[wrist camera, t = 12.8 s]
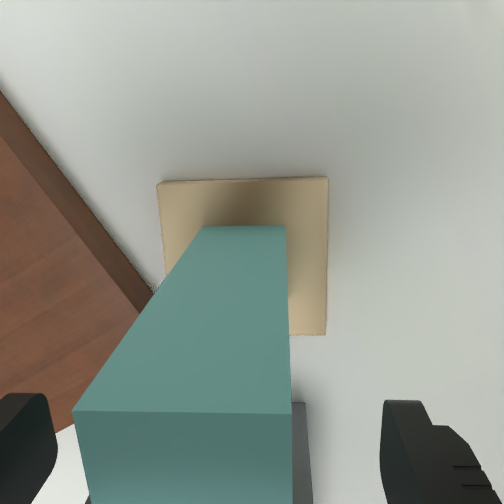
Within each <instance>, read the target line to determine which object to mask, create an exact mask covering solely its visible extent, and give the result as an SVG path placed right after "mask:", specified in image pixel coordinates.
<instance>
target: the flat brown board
mask: <svg viewBox="0 0 504 504" xmlns="http://www.w3.org/2000/svg"><path fill="white" fill-rule="evenodd" d="M153 295H154V294H153V292H152V291H151V290H150V288H149V287H148V286H147V284H146V283H145V282H144V281H143V279H142V278H141V277H140V275H139V274H138V273H137V271H136V270H135V269H134V267H133V266H132V265H131V263H130V262H129V261H128V259H127V258H126V257H125V255H124V254H123V253H122V251H121V250H120V249H119V247H118V246H117V245H116V243H115V242H114V241H113V239H112V238H111V237H110V236H109V234H108V233H107V232H106V230H105V229H104V228H103V226H102V225H101V224H100V222H99V221H98V220H97V218H96V217H95V216H94V214H93V213H92V212H91V210H90V209H89V208H88V206H87V205H86V204H85V202H84V201H83V200H82V198H81V197H80V196H79V194H78V193H77V192H76V191H75V189H74V188H73V187H72V185H71V184H70V183H69V181H68V180H67V179H66V177H65V176H64V175H63V173H62V172H61V171H60V169H59V168H58V167H57V165H56V164H55V163H54V161H53V160H52V159H51V157H50V156H49V155H48V153H47V152H46V151H45V149H44V148H43V147H42V146H41V144H40V143H39V142H38V140H37V139H36V138H35V136H34V135H33V134H32V132H31V131H30V130H29V128H28V127H27V126H26V124H25V123H24V122H23V120H22V119H21V118H20V116H19V115H18V114H17V112H16V111H15V110H14V108H13V107H12V106H11V104H10V103H9V102H8V101H7V99H6V98H5V97H4V95H3V94H2V93H1V91H0V400H1V399H2V398H3V397H4V396H5V395H6V394H8V393H42V394H44V395H45V396H46V398H47V400H48V404H49V409H50V413H51V418H52V422H53V426H54V431H55V433H57V432H59V431H61V430H63V429H64V428H66V427H68V426H70V425H72V424H74V419H73V415H72V409H73V408H74V406H75V405H76V404H77V402H78V401H79V399H80V398H81V397H82V395H83V394H84V392H85V391H86V390H87V388H88V387H89V385H90V384H91V383H92V381H93V380H94V378H95V377H96V375H97V374H98V373H99V371H100V370H101V368H102V367H103V366H104V364H105V363H106V361H107V360H108V359H109V357H110V356H111V354H112V353H113V351H114V350H115V349H116V347H117V346H118V344H119V343H120V342H121V340H122V339H123V337H124V336H125V335H126V333H127V332H128V330H129V329H130V328H131V326H132V325H133V323H134V322H135V320H136V319H137V318H138V316H139V315H140V313H141V312H142V311H143V309H144V308H145V306H146V305H147V304H148V302H149V301H150V299H151V298H152V297H153Z"/></svg>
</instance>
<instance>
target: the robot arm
mask: <svg viewBox="0 0 504 504" xmlns="http://www.w3.org/2000/svg"><path fill="white" fill-rule="evenodd" d="M57 453H58V444H57V439H56V435H55V431H54V426H53V422H52V418H51V413H50V409H49V404H48V400H47V398H46V396H45V395H44V394H42V393H8V394H6V395H5V396H4V397H3V398H2V399H1V400H0V504H31V503H32V501H33V500H34V498H35V497H36V495H37V494H38V492H39V491H40V489H41V488H42V486H43V484H44V483H45V481H46V480H47V478H48V477H49V475H50V474H51V472H52V470H53V468H54V465H55V462H56V459H57ZM380 472H381V479H382V484H383V488H384V492H385V495H386V499H387V503H388V504H502V503H501V501H500V499H499V497H498V496H497V494H496V492H495V490H492V485H491V483H490V481H489V480H488V478H487V476H486V474H485V472H484V471H482V470H481V465H480V464H479V462H478V460H477V458H476V456H475V455H474V453H473V451H472V449H471V448H470V446H469V444H468V443H467V442H466V441H465V440H463V439H462V438H461V437H460V436H459V435H458V434H457V433H456V432H455V431H454V430H452V429H451V428H450V427H449V426H438V425H432V422H431V420H430V418H429V416H428V414H427V412H426V410H425V408H424V406H423V404H422V403H421V401H419V400H385V401H384V404H383V414H382V428H381V441H380Z"/></svg>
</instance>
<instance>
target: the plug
mask: <svg viewBox="0 0 504 504" xmlns="http://www.w3.org/2000/svg"><path fill="white" fill-rule="evenodd" d="M72 415H73V419H74V424H75V429H76V433H77V438H78V443H79V447H80V452H81V457H82V462H83V466H84V471H85V476H86V480H87V485H88V490H89V494H90V499H91V504H293V492H292V405H291V375H290V346H289V316H288V287H287V257H286V228H285V225H257V226H205V227H201V229H200V230H199V232H198V233H197V235H196V236H195V237H194V239H193V240H192V242H191V243H190V244H189V246H188V247H187V249H186V250H185V251H184V253H183V254H182V256H181V257H180V258H179V260H178V261H177V263H176V264H175V266H174V267H173V268H172V270H171V271H170V273H169V274H168V275H167V277H166V278H165V280H164V281H163V282H162V284H161V285H160V287H159V288H158V289H157V291H156V292H155V294H154V295H153V297H152V298H151V299H150V301H149V302H148V304H147V305H146V306H145V308H144V309H143V311H142V312H141V313H140V315H139V316H138V318H137V319H136V320H135V322H134V323H133V325H132V326H131V328H130V329H129V330H128V332H127V333H126V335H125V336H124V337H123V339H122V340H121V342H120V343H119V344H118V346H117V347H116V349H115V350H114V351H113V353H112V354H111V356H110V357H109V359H108V360H107V361H106V363H105V364H104V366H103V367H102V368H101V370H100V371H99V373H98V374H97V375H96V377H95V378H94V380H93V381H92V383H91V384H90V385H89V387H88V388H87V390H86V391H85V392H84V394H83V395H82V397H81V398H80V399H79V401H78V402H77V404H76V405H75V406H74V408H73V409H72Z"/></svg>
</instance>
